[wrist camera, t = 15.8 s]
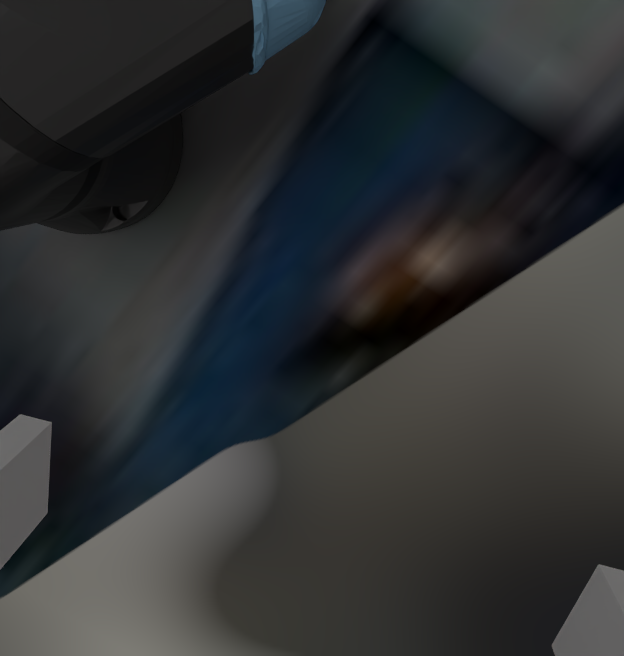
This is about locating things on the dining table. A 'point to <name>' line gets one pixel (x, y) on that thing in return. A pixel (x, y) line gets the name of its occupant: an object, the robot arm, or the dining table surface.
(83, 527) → the dining table surface
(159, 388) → the dining table surface
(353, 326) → the dining table surface
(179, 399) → the dining table surface
